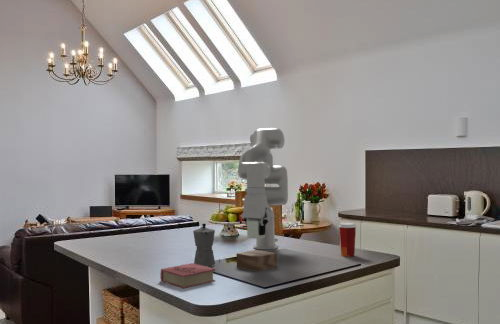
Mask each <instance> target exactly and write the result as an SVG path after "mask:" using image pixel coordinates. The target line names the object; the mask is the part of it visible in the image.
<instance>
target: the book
mask: <svg viewBox="0 0 500 324" xmlns="http://www.w3.org/2000/svg"><path fill="white" fill-rule="evenodd" d="M215 271H216V268H215V267H206V266H202V265H198V264H194V262H192V263H185V264H181V265H176V266H169V267H165V268H161V269H160V273H159V274H160V282H162V283H165V284H168V285H171V286H175V287H178V288H180V289H188V288H192V287H195V286H201V285H204V284H210V283H214V282H216V280H215V279H214V272H215Z"/></svg>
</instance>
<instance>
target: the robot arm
mask: <svg viewBox="0 0 500 324" xmlns="http://www.w3.org/2000/svg"><path fill="white" fill-rule="evenodd" d="M249 141H250V145H251V146H250V148H248V149H247V150H245V151H243V153H242V154H241V156H240V157H239V160H238V166H237V174H238V176H239V178H240V179H243V180H246V188H245V189H244V192H245V193H246V194H245V196H244V199H243V209H242V210H243V212H242V213H241V214H240V217H241V218H242V219H243V221H244V222H245V225H246V226H247V221H248V219H260V223H261V226H260V235H265V237H264V238H260V239H255V242H256V243H255V244H253V249H254V250H261V251H267V250H276V249H277V248H278V244H276V243H277V242H278V241H279V239H278V238H277V237H275V213H274V210H273V209H272V208H271V207H270V206H284V205H286V204H287V203H288V201H289V188H288V187H289V186H288V185H289V184H288V181H289V179H288V177H289V176H288V170H287V168H286V167H285V166H283V165H274V161H273V158H274V157H273V155H272V152H271V151H270V150H273V149H274V150H275V149H276V150H279V149H283V147H284V146H285V135H284V132H283V131H282V130H281V129H280V128H277V127H270V128H269V127H268V128H267V127H266V128H263V127H262V128H258V129H256V130H254V131H253V132H252V133H251V134H250V136H249ZM265 185H278V186H265Z"/></svg>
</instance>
